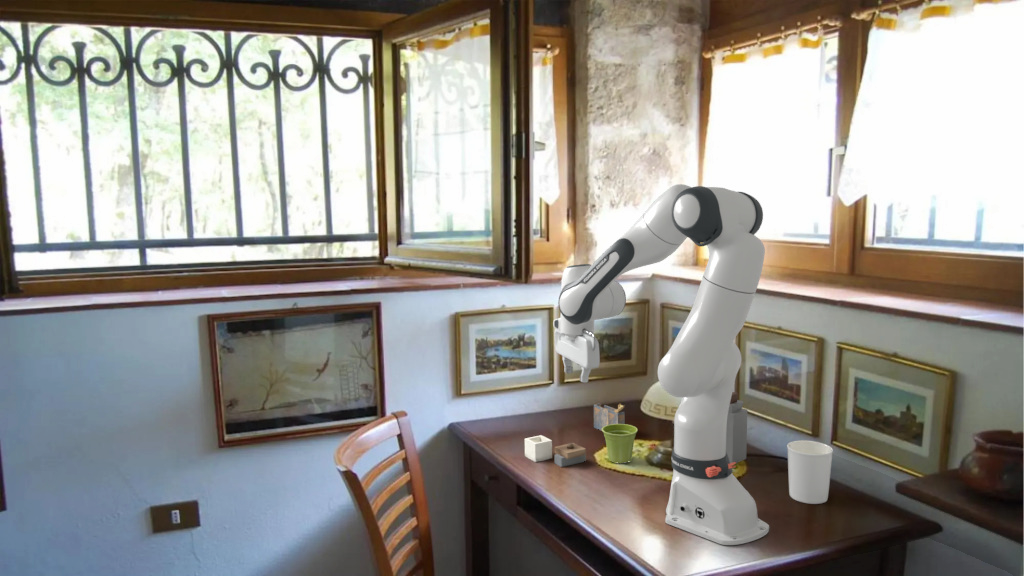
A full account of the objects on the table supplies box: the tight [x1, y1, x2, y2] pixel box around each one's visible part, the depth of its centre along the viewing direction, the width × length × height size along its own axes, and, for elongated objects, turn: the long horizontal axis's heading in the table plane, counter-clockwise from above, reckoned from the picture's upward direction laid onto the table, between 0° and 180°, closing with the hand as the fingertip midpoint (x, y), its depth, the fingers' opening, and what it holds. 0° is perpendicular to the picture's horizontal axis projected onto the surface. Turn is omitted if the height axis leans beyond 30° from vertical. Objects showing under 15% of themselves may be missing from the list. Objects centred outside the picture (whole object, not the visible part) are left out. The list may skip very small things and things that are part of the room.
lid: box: [554, 442, 587, 459], centre depth 194 cm, size 6×6×3 cm
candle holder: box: [786, 439, 834, 505], centre depth 168 cm, size 10×10×12 cm
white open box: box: [524, 434, 553, 463], centre depth 198 cm, size 5×5×5 cm
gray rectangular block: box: [554, 453, 587, 468], centre depth 194 cm, size 3×8×2 cm, turn 121°
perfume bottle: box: [726, 391, 748, 464], centre depth 194 cm, size 7×7×18 cm
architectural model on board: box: [593, 402, 626, 432], centre depth 219 cm, size 11×3×10 cm, turn 32°
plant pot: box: [602, 423, 638, 464], centre depth 194 cm, size 9×9×9 cm
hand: (576, 377), depth 191 cm, fingers open, 8 cm apart
